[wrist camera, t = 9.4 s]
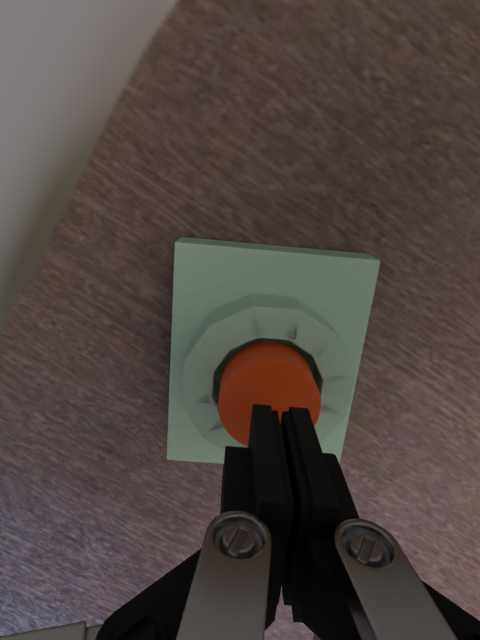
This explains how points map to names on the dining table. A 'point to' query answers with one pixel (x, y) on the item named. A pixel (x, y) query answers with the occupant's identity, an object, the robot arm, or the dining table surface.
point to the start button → (265, 386)
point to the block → (262, 331)
